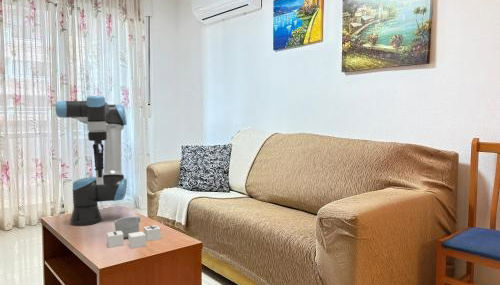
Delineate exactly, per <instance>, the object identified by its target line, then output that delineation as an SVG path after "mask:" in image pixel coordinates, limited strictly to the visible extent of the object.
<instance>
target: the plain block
mask: <svg viewBox="0 0 500 285" xmlns="http://www.w3.org/2000/svg"><path fill="white" fill-rule="evenodd" d="M127 241H128V246H129V247H130V248H131V250H133V249H136V248H137V249H138V248H143V247H147V240H146V235H145V234H144V231H138V232H135V233H129V234H128V239H127Z"/></svg>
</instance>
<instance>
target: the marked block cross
mask: <svg viewBox="0 0 500 285" xmlns="http://www.w3.org/2000/svg"><path fill="white" fill-rule="evenodd" d="M143 233H144V234H145V235H146V242H151V241H156V240H161V239H162V232H161V227H160V226H159V225H157V224H155V225H148V226H144V227H143Z"/></svg>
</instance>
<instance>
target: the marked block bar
mask: <svg viewBox="0 0 500 285" xmlns="http://www.w3.org/2000/svg"><path fill="white" fill-rule="evenodd" d="M106 238H107V239H106V240H107V241H106V243H107V246H108V249H109V248H115V247H116V248H117V247H123V246H124V245H125V244H124V242H125V241H124V239H125V238H124V237H123V233H122V231H116V230H115V231H110V232H106Z"/></svg>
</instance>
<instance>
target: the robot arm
mask: <svg viewBox="0 0 500 285" xmlns="http://www.w3.org/2000/svg"><path fill="white" fill-rule="evenodd" d="M125 110H126V109H125V107H124V106H123V105H122V104H116V103H115V104H114V103H113V104H108V103H107V102H106V97H105V96H103V95H88V96H87V97H86V100H61V101H60V100H59V101H57V102H56V104H55V114H56V116H57V118H60V119H61V118H64V119H65V118H67V119H68V118H70V119H74V120H77V121H79V122H80V123H83V124H87V131H88V134H87V135H88V136H87V138H88V141H91V142H93V144H92V149H93V157H94V159H93V160H94V167H95V168H94V171H95V176H89V177H84V178H79V179H77V180H75V181H73V183H72V198H73V199H72V200H73V202H72V203H73V211H72V214H71V217H70V225H72V226H75V227H76V226H80V227H81V226H89V225H95V224H97V223H100V222H101V221H102V220H103V219H102V218H103V217H102V214H101V213H102V212H100V209H99V206H98V205H99V204H98V202H113V201H114V202H116V201H122V200H124V199H125V197H126V194H127V186H128V182H127V181H128V180H127V178H125V175H124V174H123V173H122V131H123V130H124V128H125V127H124V126H127V122H128V121H127V116H126V112H125ZM102 141H104V144H103V142H102Z"/></svg>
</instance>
